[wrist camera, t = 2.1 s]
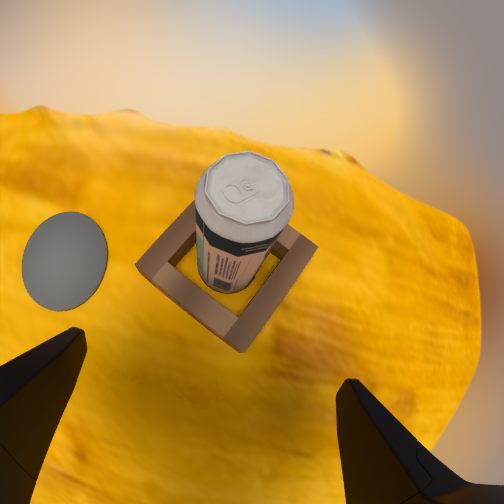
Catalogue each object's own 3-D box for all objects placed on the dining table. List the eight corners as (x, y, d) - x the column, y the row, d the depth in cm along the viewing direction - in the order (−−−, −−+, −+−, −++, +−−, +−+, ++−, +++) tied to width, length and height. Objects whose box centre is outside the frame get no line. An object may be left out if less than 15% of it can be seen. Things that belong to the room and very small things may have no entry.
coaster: (128, 253, 23) (127, 251, 23) (62, 333, 20) (60, 332, 20) (68, 196, 24) (67, 194, 24) (9, 265, 21) (7, 264, 20)
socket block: (308, 257, 26) (318, 246, 23) (239, 352, 22) (244, 352, 20) (217, 191, 26) (218, 175, 24) (140, 274, 23) (134, 264, 21)
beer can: (267, 275, 24) (319, 204, 13) (217, 305, 23) (231, 253, 12) (235, 229, 25) (261, 132, 14) (186, 255, 24) (175, 168, 13)
